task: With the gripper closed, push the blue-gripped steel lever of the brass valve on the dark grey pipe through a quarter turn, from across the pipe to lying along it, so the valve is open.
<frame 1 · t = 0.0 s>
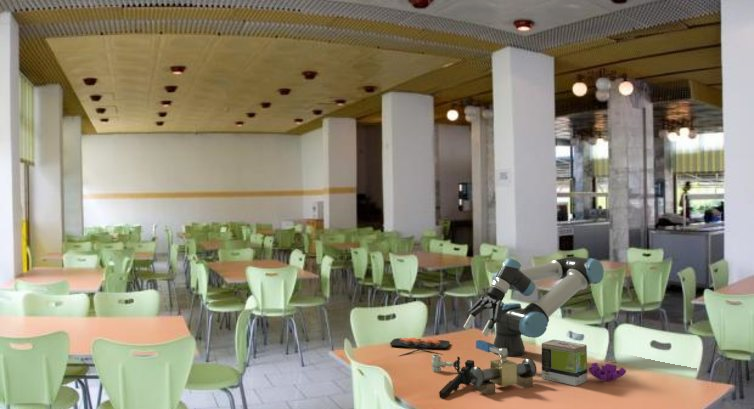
hand: (474, 331, 259), 15 cm above the table, fingers open, 13 cm apart
sushi plate: (417, 350, 290), on the table
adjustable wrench: (457, 390, 228), on the table
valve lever: (491, 348, 236), point 13 cm above the table, hinge at 0.0°
purple lumpy cluster: (606, 381, 238), on the table
pipe run: (503, 387, 230), on the table
tea box: (564, 380, 239), on the table
valve: (445, 372, 252), on the table
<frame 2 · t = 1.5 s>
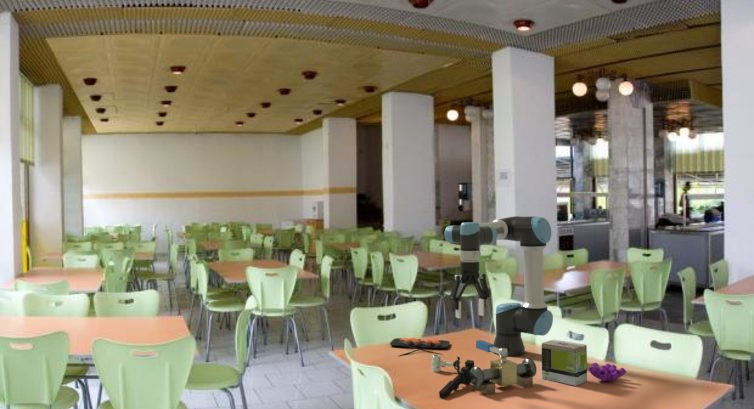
hand: (469, 316, 237), 26 cm above the table, fingers open, 10 cm apart
nothing on the table moved.
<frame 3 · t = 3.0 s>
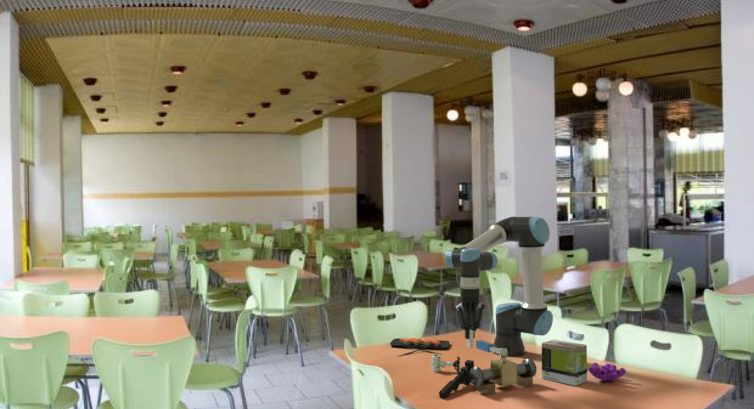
hand: (469, 346, 237), 14 cm above the table, fingers closed
nothing on the table moved.
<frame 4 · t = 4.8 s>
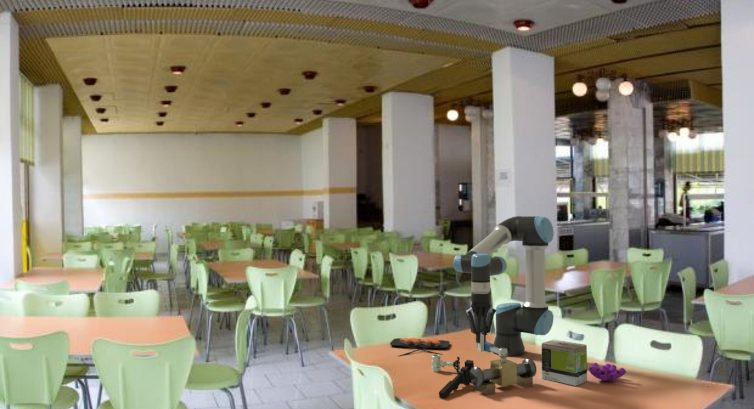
hand: (480, 350, 240), 12 cm above the table, fingers closed
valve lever: (492, 348, 236), point 14 cm above the table, hinge at -1.5°, touching gripper
everything else where it was.
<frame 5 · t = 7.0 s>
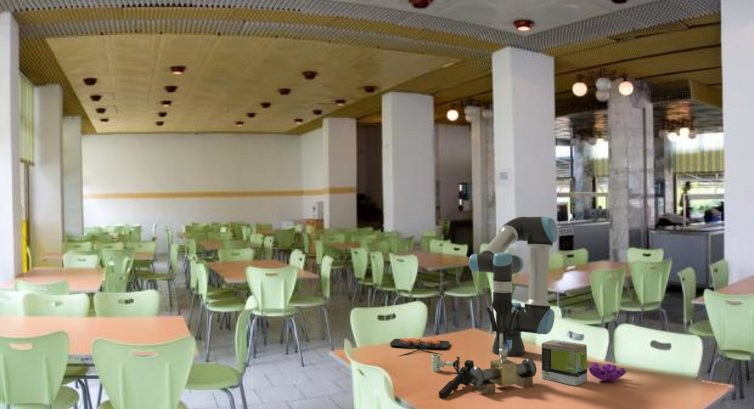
hand: (501, 349, 242), 12 cm above the table, fingers closed
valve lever: (505, 348, 237), point 13 cm above the table, hinge at -45.8°, touching gripper
everything else where it was.
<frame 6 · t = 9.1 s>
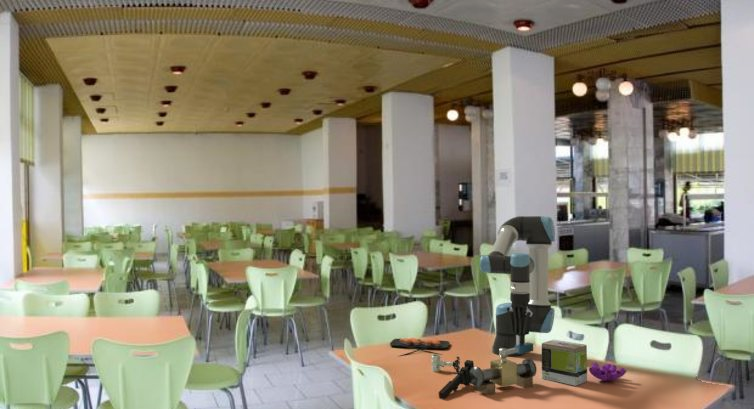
hand: (520, 351, 239), 12 cm above the table, fingers closed
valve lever: (516, 350, 234), point 14 cm above the table, hinge at -80.1°, touching gripper
everything else where it was.
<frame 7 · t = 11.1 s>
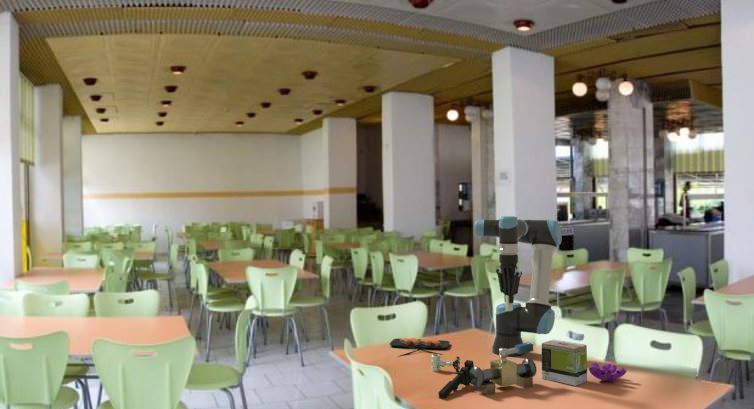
hand: (509, 310, 246), 27 cm above the table, fingers closed
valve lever: (516, 350, 234), point 14 cm above the table, hinge at -80.2°
everything else where it was.
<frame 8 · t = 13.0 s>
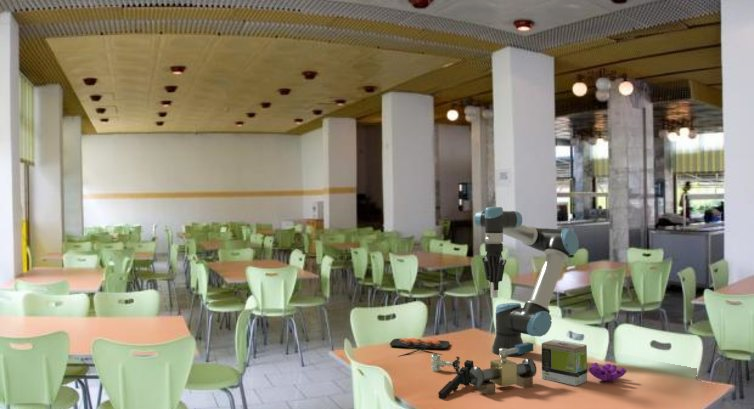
hand: (494, 297, 257), 30 cm above the table, fingers closed
nothing on the table moved.
at the end: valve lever at -80° (first picture: +0°) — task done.
